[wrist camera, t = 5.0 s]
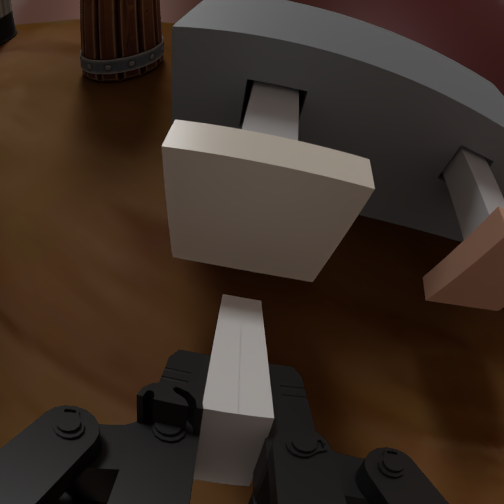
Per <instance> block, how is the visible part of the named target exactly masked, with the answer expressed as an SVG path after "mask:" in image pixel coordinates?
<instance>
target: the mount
mask: <svg viewBox="0 0 504 504" xmlns="http://www.w3.org/2000/svg"><path fill="white" fill-rule="evenodd" d="M254 81H261V82H266V83H271V84H276V85H281V86H286V87H290V88H295V89H299V123H298V141H301V142H306V143H310V144H314V145H318V146H322V147H326V148H330V149H334V150H338V151H342V152H345V153H349V154H353V155H356V156H360V157H363V158H367V159H369V160H370V165H371V170H372V175H373V181H374V186H375V190H374V191H373V193H372V194H371V196H370V198H369V199H368V201H367V202H366V204H365V205H364V207H363V209H362V210H361V212H360V213H359V215H362V216H366V217H370V218H374V219H378V220H382V221H386V222H390V223H394V224H398V225H402V226H405V227H409V228H413V229H417V230H420V231H424V232H428V233H431V234H435V235H439V236H442V237H446V238H449V239H453V240H456V241H460V242H463V241H464V239H463V235H462V232H461V228H460V224H459V221H458V218H457V214H456V211H455V208H454V205H453V202H452V199H451V196H450V193H449V190H448V187H447V184H446V181H445V179H444V176H443V173H442V171H443V170H444V168H445V167H446V166H447V164H448V163H449V161H450V160H451V159H452V157H453V156H454V154H455V153H456V152H457V150H458V149H459V147H460V146H461V145H462V146H464V147H466V148H468V149H470V150H472V151H474V152H476V153H478V154H480V155H482V156H484V157H485V159H486V161H487V163H488V165H489V167H490V169H491V171H492V173H493V176H494V178H495V180H496V182H497V184H498V186H499V189H500V191H501V193H502V196H503V198H504V96H503V95H502V94H501V93H500V92H499V90H498V89H497V88H496V87H495V86H494V84H492V83H491V82H489V81H488V80H486V79H484V78H483V77H481V76H479V75H478V74H476V73H475V72H473V71H471V70H469V69H468V68H466V67H464V66H462V65H461V64H459V63H457V62H455V61H453V60H451V59H449V58H448V57H446V56H444V55H442V54H440V53H438V52H436V51H434V50H431V49H429V48H428V47H426V46H423V45H421V44H419V43H417V42H414V41H412V40H410V39H408V38H405V37H403V36H401V35H398V34H396V33H393V32H391V31H388V30H386V29H383V28H380V27H378V26H375V25H372V24H370V23H367V22H363V21H361V20H358V19H355V18H352V17H349V16H345V15H342V14H339V13H335V12H332V11H328V10H324V9H320V8H317V7H313V6H309V5H304V4H300V3H296V2H291V1H286V0H203V1H202V2H201V3H200V4H198V5H197V6H196V7H195V8H193V9H192V10H191V11H190V12H189V13H187V14H186V15H185V16H184V17H183V18H181V19H180V20H179V21H178V22H177V23H176V24H175V25H173V26H172V65H171V105H172V125H173V123H174V121H175V119H176V120H184V121H191V122H199V123H206V124H212V125H219V126H225V127H231V128H237V129H242V126H243V122H244V118H245V115H246V111H247V107H248V103H249V99H250V96H251V92H252V88H253V85H254Z"/></svg>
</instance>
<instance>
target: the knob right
mask: <svg viewBox="0 0 504 504" xmlns="http://www.w3.org/2000/svg"><path fill="white" fill-rule="evenodd" d="M442 173H443V176H444V179H445V181H446V184H447V187H448V190H449V193H450V196H451V199H452V202H453V205H454V208H455V211H456V214H457V218H458V221H459V224H460V228H461V232H462V235H463V239H464V241H463V242H462V243H461V244H459V245H458V246H457V247H456V248H455V249H454V250H453V251H452V252H451V253H450V254H449V255H448V256H446V257H445V258H444V259H443V260H442V261H441V262H440V263H439V264H437V265H436V266H435V267H434V268H433V269H432V270H431V271H429V272H428V273H427V274H426V275H425V276H424V277H423V284H424V292H425V300H426V301H432V302H439V303H446V304H452V305H459V306H466V307H473V308H480V309H487V310H494V311H499V310H501V309H502V308H504V198H503V196H502V193H501V191H500V189H499V186H498V184H497V182H496V180H495V178H494V176H493V173H492V171H491V169H490V167H489V165H488V163H487V161H486V159H485V157H484V156H482V155H480V154H478V153H476V152H474V151H472V150H470V149H468V148H466V147H464V146H462V145H461V146H460V147H459V149H458V150H457V152H456V153H455V154H454V156H453V157H452V159H451V160H450V161H449V163H448V164H447V166H446V167H445V168H444V170H443V171H442Z"/></svg>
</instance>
